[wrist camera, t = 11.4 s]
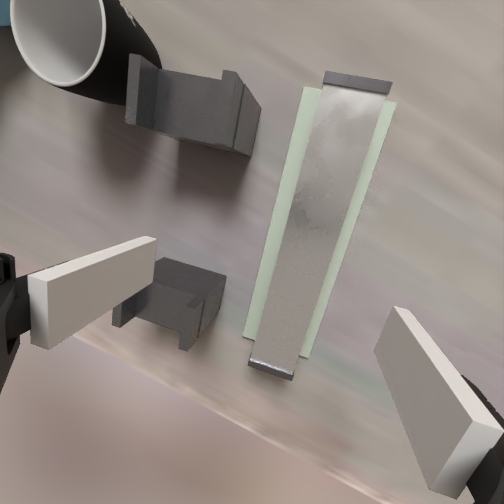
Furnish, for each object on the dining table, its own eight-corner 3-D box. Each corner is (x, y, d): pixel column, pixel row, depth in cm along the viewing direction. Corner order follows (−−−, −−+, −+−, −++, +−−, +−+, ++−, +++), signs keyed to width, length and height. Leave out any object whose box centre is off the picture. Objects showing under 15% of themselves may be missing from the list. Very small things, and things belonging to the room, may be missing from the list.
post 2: (160, 289, 37) (110, 324, 28) (164, 257, 35) (113, 282, 26) (219, 309, 35) (188, 352, 26) (226, 275, 34) (195, 309, 25)
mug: (186, 52, 28) (121, -16, 18) (155, 131, 31) (85, 108, 21) (96, -3, 29) (-12, -96, 19) (74, 80, 32) (-29, 35, 22)
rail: (294, 352, 34) (291, 381, 29) (256, 339, 34) (247, 365, 30) (376, 101, 25) (392, 82, 20) (323, 92, 26) (325, 70, 21)
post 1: (178, 140, 31) (123, 122, 22) (184, 93, 29) (128, 53, 20) (251, 156, 29) (224, 144, 20) (261, 107, 28) (237, 72, 19)
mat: (243, 333, 35) (242, 336, 35) (304, 88, 26) (304, 86, 26) (308, 355, 34) (308, 358, 33) (395, 104, 25) (397, 103, 25)
